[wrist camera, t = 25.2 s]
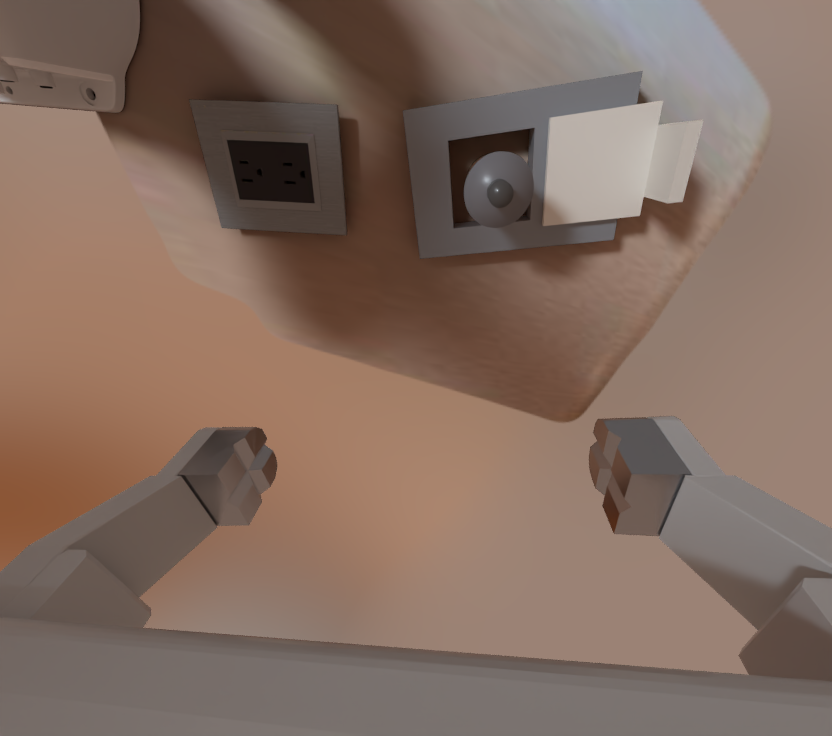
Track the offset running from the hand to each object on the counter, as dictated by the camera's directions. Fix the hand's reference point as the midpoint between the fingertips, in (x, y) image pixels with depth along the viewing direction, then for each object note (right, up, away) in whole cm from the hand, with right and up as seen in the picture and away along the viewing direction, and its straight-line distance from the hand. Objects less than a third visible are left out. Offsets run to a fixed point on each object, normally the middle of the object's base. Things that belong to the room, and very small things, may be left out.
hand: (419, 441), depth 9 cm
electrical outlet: (-13, +21, +26) cm, 36 cm away
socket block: (+9, +20, +24) cm, 32 cm away
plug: (+7, +19, +24) cm, 31 cm away
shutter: (+15, +18, +20) cm, 31 cm away
